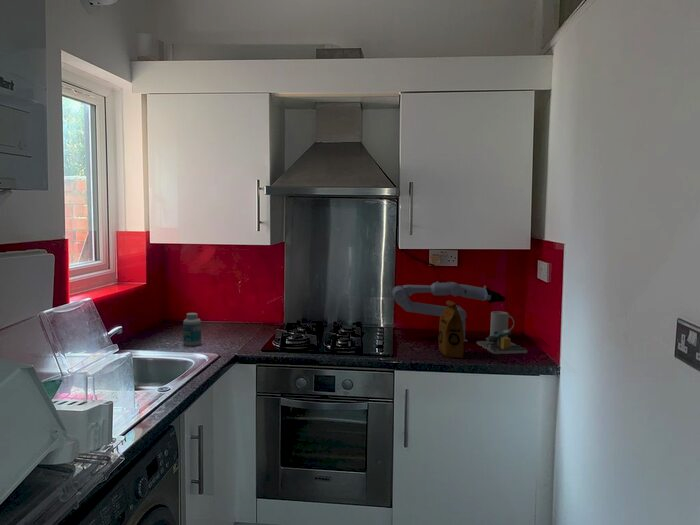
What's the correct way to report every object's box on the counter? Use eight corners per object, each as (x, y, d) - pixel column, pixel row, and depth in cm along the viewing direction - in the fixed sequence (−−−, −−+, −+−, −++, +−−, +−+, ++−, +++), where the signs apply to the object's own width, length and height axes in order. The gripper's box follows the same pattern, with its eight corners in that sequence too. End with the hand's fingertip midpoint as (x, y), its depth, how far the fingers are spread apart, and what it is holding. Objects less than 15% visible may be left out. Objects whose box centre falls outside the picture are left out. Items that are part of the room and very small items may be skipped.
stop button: (490, 342, 230) (490, 338, 230) (487, 340, 234) (487, 336, 234) (498, 342, 231) (498, 337, 231) (494, 340, 235) (495, 335, 234)
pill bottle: (180, 344, 231) (179, 313, 230) (195, 341, 236) (195, 311, 235) (189, 347, 226) (188, 316, 225) (204, 344, 231) (204, 313, 230)
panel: (494, 354, 223) (494, 340, 223) (476, 343, 241) (477, 331, 241) (527, 353, 226) (527, 340, 226) (507, 342, 244) (507, 330, 243)
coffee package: (441, 358, 215) (443, 304, 213) (436, 350, 228) (438, 299, 226) (466, 358, 215) (468, 305, 213) (459, 350, 228) (461, 300, 226)
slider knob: (503, 349, 226) (504, 339, 225) (500, 347, 229) (500, 337, 228) (510, 349, 226) (510, 338, 226) (507, 347, 229) (507, 337, 229)
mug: (510, 335, 259) (512, 311, 258) (517, 339, 250) (518, 314, 249) (487, 335, 258) (488, 311, 257) (492, 339, 250) (493, 314, 249)
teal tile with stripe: (490, 342, 236) (489, 339, 236) (486, 339, 240) (485, 337, 240) (511, 333, 237) (510, 331, 237) (507, 331, 242) (506, 329, 241)
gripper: (478, 286, 237) (508, 292, 237) (472, 281, 252) (500, 286, 252) (475, 302, 238) (505, 307, 238) (469, 295, 253) (497, 300, 253)
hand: (502, 297), depth 245 cm, fingers open, 7 cm apart
